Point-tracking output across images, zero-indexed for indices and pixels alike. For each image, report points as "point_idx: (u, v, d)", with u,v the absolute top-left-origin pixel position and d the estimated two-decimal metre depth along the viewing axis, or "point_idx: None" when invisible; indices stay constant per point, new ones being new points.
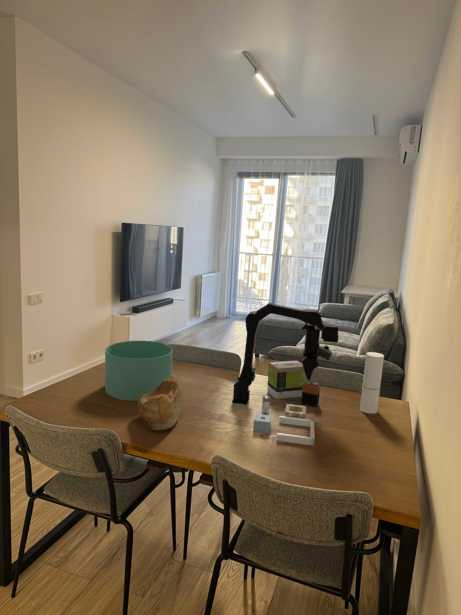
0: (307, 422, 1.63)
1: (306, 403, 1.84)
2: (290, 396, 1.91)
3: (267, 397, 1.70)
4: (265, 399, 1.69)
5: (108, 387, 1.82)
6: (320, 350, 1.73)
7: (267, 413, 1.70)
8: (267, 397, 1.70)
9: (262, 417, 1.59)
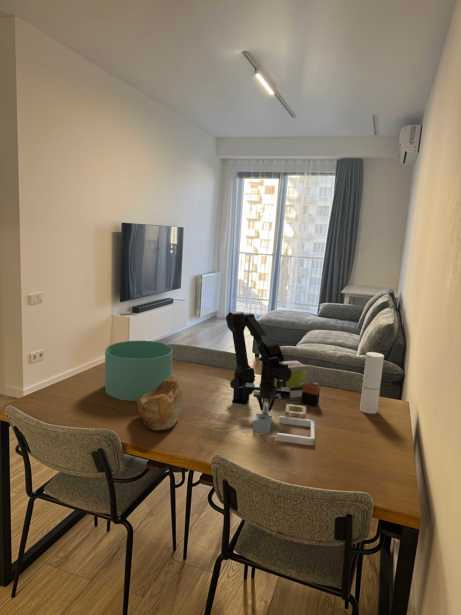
0: (307, 422, 1.63)
1: (306, 403, 1.84)
2: (290, 395, 1.91)
3: None
4: (265, 399, 1.69)
5: (108, 387, 1.82)
6: (261, 384, 1.66)
7: (267, 413, 1.70)
8: None
9: (262, 417, 1.59)
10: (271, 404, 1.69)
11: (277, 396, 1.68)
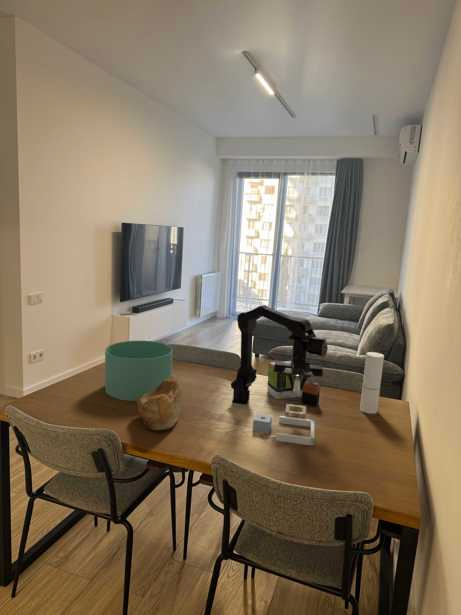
0: (307, 422, 1.63)
1: (306, 403, 1.84)
2: (290, 396, 1.91)
3: (299, 375, 1.67)
4: (296, 377, 1.66)
5: (108, 387, 1.82)
6: (292, 361, 1.63)
7: (298, 392, 1.67)
8: (298, 375, 1.67)
9: (262, 417, 1.59)
10: (303, 382, 1.66)
11: (309, 374, 1.65)
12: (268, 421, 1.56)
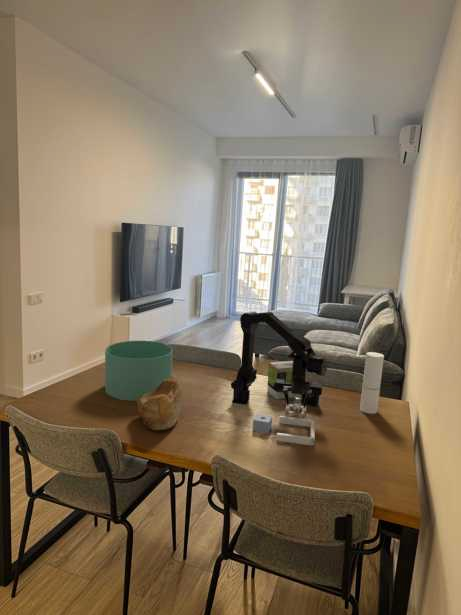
0: (307, 422, 1.63)
1: None
2: (290, 396, 1.91)
3: (299, 398, 1.68)
4: (297, 400, 1.67)
5: (108, 387, 1.82)
6: None
7: None
8: (299, 399, 1.68)
9: (262, 417, 1.59)
10: (306, 401, 1.67)
11: None
12: (268, 421, 1.56)
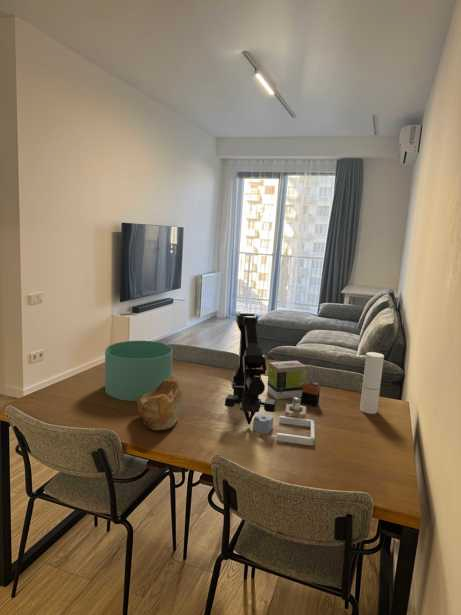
0: (307, 422, 1.63)
1: (306, 403, 1.84)
2: (290, 396, 1.91)
3: (298, 398, 1.69)
4: (295, 400, 1.68)
5: (108, 387, 1.82)
6: None
7: None
8: (297, 398, 1.68)
9: (262, 417, 1.59)
10: (251, 417, 1.58)
11: (257, 408, 1.57)
12: (268, 421, 1.56)
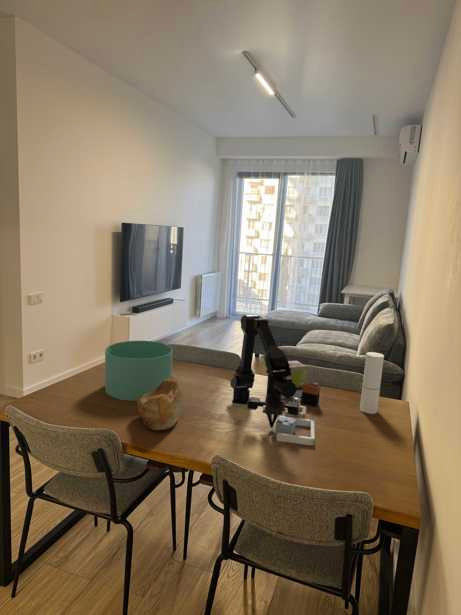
0: (307, 422, 1.63)
1: (306, 403, 1.84)
2: None
3: (298, 398, 1.69)
4: (295, 400, 1.68)
5: (108, 387, 1.82)
6: (266, 399, 1.54)
7: None
8: (297, 398, 1.68)
9: (285, 420, 1.57)
10: (273, 420, 1.57)
11: (280, 411, 1.56)
12: (291, 425, 1.54)
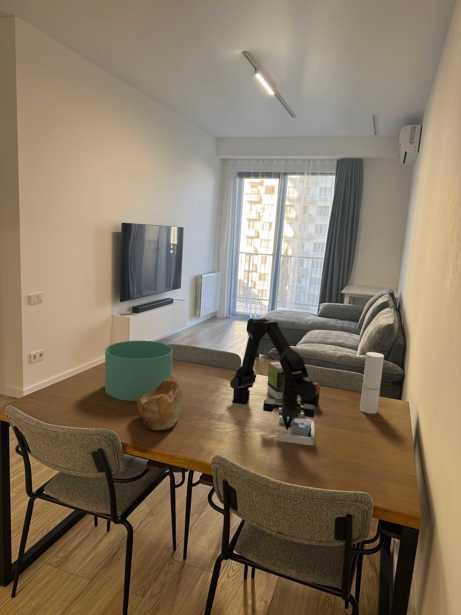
0: None
1: (306, 403, 1.84)
2: None
3: (298, 398, 1.69)
4: None
5: (108, 387, 1.82)
6: (283, 401, 1.53)
7: None
8: None
9: (300, 423, 1.56)
10: (289, 422, 1.56)
11: (296, 413, 1.55)
12: (307, 427, 1.53)
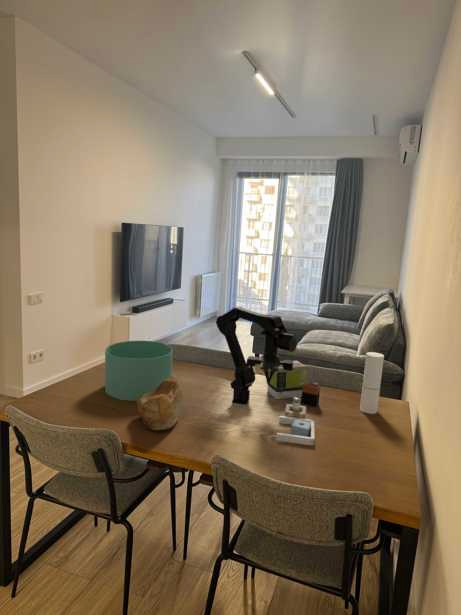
0: None
1: (306, 403, 1.84)
2: (290, 395, 1.91)
3: (298, 398, 1.69)
4: (295, 400, 1.68)
5: (108, 387, 1.82)
6: (264, 356, 1.69)
7: None
8: (297, 398, 1.68)
9: (300, 423, 1.56)
10: (270, 376, 1.72)
11: (276, 368, 1.71)
12: (307, 428, 1.53)
